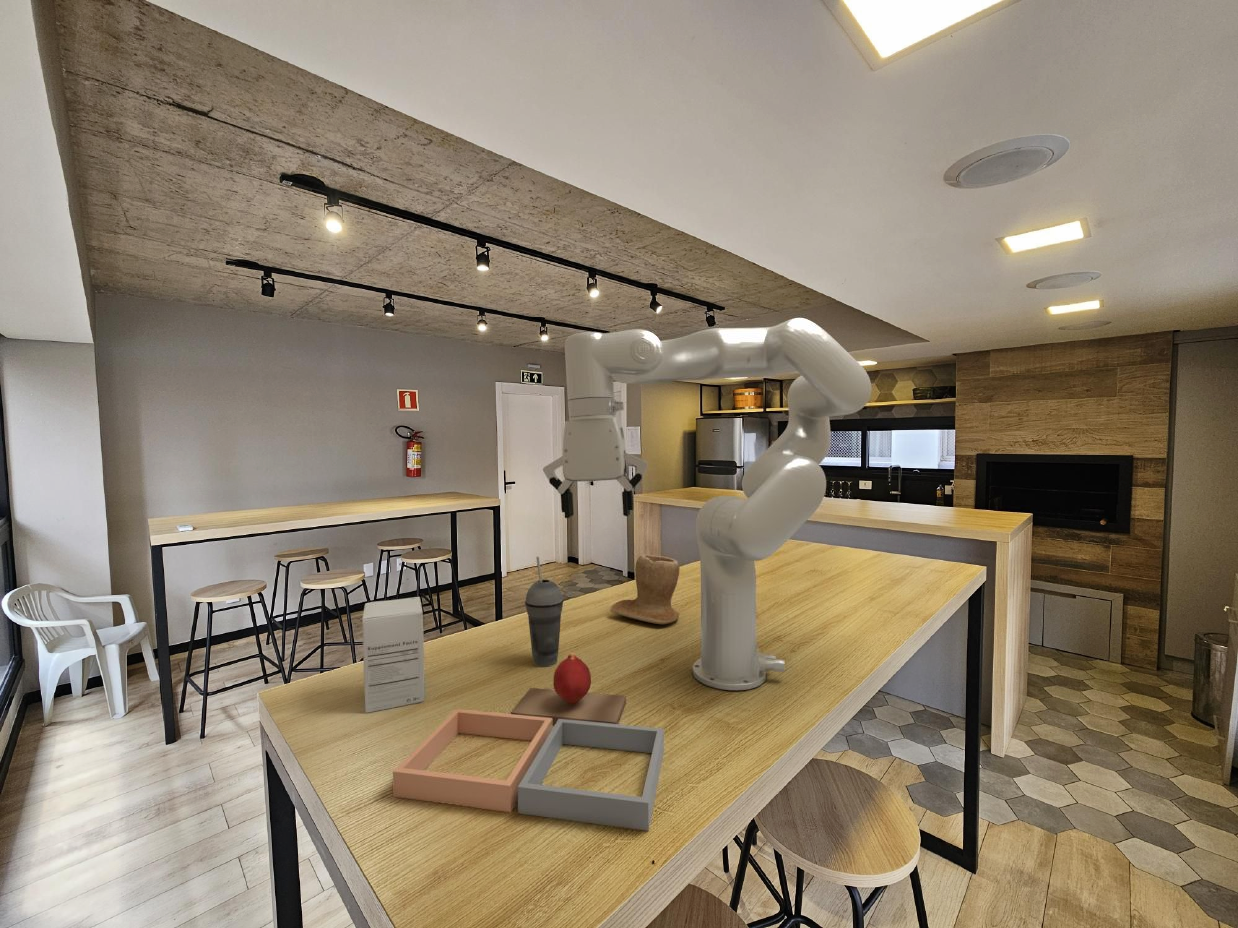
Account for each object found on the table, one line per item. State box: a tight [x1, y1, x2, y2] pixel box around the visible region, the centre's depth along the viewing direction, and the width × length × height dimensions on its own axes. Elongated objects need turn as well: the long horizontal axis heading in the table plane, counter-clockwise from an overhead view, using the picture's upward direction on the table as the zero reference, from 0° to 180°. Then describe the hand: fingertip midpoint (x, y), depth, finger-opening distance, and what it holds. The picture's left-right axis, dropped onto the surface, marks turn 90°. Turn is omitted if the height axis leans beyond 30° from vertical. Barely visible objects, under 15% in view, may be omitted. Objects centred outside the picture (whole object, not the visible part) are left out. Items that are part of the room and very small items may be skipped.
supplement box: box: [361, 596, 426, 714], centre depth 85 cm, size 9×9×15 cm
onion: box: [552, 652, 592, 705], centre depth 79 cm, size 6×6×8 cm
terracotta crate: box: [392, 708, 554, 813], centre depth 66 cm, size 15×15×3 cm
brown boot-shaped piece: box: [609, 554, 681, 625], centre depth 122 cm, size 15×12×15 cm
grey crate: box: [517, 719, 665, 832], centre depth 63 cm, size 15×15×3 cm
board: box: [510, 687, 627, 726], centre depth 79 cm, size 16×8×1 cm, turn 79°
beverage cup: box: [524, 556, 565, 668], centre depth 98 cm, size 7×7×20 cm
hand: (597, 515), depth 85 cm, fingers open, 9 cm apart
